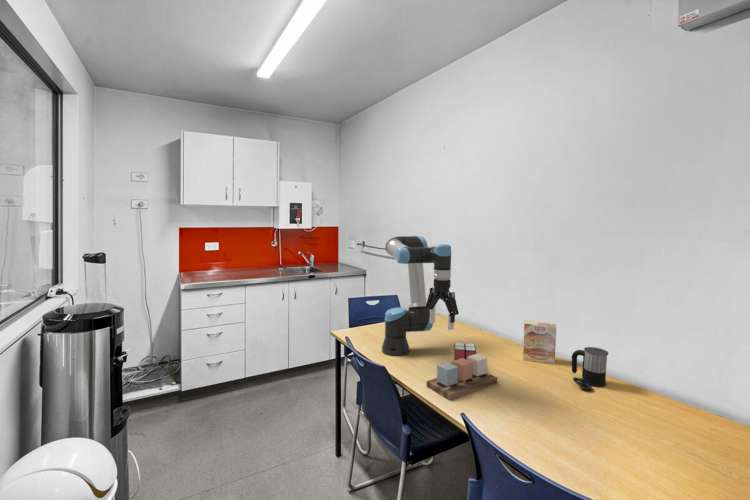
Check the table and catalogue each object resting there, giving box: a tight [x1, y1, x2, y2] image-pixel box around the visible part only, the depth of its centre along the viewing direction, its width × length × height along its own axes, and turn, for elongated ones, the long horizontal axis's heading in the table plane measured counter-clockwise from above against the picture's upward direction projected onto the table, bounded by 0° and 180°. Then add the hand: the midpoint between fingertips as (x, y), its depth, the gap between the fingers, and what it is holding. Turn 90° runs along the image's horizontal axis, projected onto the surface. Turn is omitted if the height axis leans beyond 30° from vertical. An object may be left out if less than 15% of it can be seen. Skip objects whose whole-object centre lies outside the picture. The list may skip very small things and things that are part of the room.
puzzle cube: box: [453, 342, 477, 361], centre depth 179 cm, size 10×10×10 cm
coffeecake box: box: [522, 319, 557, 365], centre depth 186 cm, size 15×7×20 cm, turn 68°
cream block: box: [467, 353, 488, 377], centre depth 163 cm, size 6×6×7 cm
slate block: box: [436, 361, 459, 387], centre depth 154 cm, size 6×6×7 cm
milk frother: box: [571, 346, 610, 391], centre depth 158 cm, size 14×16×15 cm
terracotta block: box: [452, 358, 474, 382], centre depth 159 cm, size 6×6×7 cm
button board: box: [426, 372, 498, 401], centre depth 159 cm, size 14×29×2 cm, turn 122°
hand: (441, 326), depth 165 cm, fingers open, 11 cm apart
